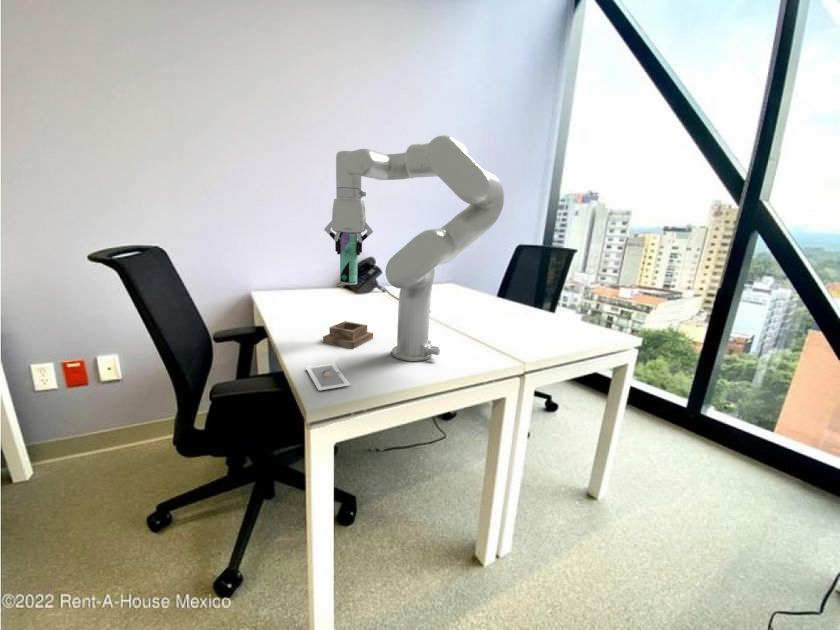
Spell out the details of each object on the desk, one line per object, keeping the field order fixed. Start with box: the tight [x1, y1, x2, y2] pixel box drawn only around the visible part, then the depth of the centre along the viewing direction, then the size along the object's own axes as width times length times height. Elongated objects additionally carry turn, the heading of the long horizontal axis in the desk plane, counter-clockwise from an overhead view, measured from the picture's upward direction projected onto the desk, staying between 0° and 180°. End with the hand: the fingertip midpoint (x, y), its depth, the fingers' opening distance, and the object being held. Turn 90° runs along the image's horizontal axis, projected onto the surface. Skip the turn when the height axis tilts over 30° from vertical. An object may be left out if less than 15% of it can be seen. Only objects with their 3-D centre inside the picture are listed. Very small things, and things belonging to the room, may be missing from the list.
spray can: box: [339, 228, 359, 286], centre depth 119 cm, size 6×6×20 cm
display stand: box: [322, 320, 374, 349], centre depth 126 cm, size 12×12×5 cm
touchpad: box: [305, 363, 351, 391], centre depth 97 cm, size 8×15×2 cm, turn 28°
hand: (348, 253), depth 119 cm, fingers closed on spray can, 5 cm apart
